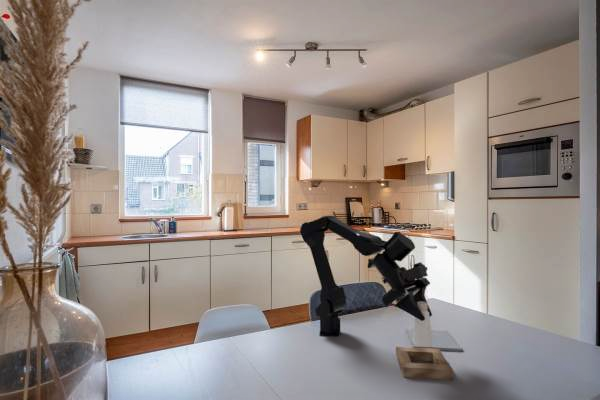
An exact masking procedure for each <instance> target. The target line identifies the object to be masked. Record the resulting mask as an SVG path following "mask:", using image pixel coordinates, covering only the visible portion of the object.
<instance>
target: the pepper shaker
mask: <svg viewBox="0 0 600 400" xmlns="http://www.w3.org/2000/svg"><path fill="white" fill-rule="evenodd" d="M417 306H418V308H419V309H420V311H421V312H422V314H423V315H424V317H425V320H423V321H421V320H419V319H418V318H416V317H414V325H413V329H414V333H413V343H414V344H416V345H418V346H422V347H429V346H432V345H433V343H432V334H431V330H432V327H431V326H432V325H431V316H429V312H428V311H427V309H428V307H427V306H429V304H428V302H427V303H426V302H423V301H419V302H417Z"/></svg>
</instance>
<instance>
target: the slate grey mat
mask: <svg viewBox="0 0 600 400" xmlns="http://www.w3.org/2000/svg"><path fill="white" fill-rule="evenodd" d="M404 332H405V334H406V335H407V338H408V340H409V342H410V345H411V347H412V348H429V349H439V350H440V351H447V352H463V348H462V347H461V345H460V344H459V343H458V342H457V341H456V339H455V338H454V336H453V335H452V334H451V333H450V332H449V331H448V330H437V329H435V330H434V329H431V334H432V343H433V345H432V346H429V347H422V346H418V345H416V344H414V343H413V333H414V328H413V329H412V328H411V329H409V328H406V329H405V331H404Z"/></svg>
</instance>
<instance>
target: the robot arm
mask: <svg viewBox="0 0 600 400" xmlns="http://www.w3.org/2000/svg"><path fill="white" fill-rule="evenodd" d="M299 229H300V230H299V232H300V235H301V238H302V240H303V242H304V243H305V244H306V245H307V246H308V247H309V249H310V252H311V256H312V259H313V262H314V266H315V269H316V273H317V276H318V280H319V283H320V286H321V289H320V294H319V300H320V303H319V305H317V307H315V308H314V311H315V316H316V317H319V336H328V337H339V336H340V333H341V317H340V316H339V314H342V313H343V312H344V308H345V307H346V305H347V300H346V299H347V296H346V294H345V289H344V288H343V286H340V287H339V286H338V284H337V283H336V281H335V278H334V274H333V272H332V268H331V265H330V261H329V257H328V255H327V253H326V252H327V251H326V248H325V245H324V242H325V236H326V235H325V232H327V231H331V232H332V233H334V234H336V235H337V236H340V238H343V239H345V241H348V243H351V244H352V246H353V247H354V250H356V251H357V252H359V253H360V255H362V256H364V257H369V256H373V255H374V257H372V258H368V260H367V261H368V263H367V269H372V268H376V270H377V271H378V273H379V274H380V275H381V276H382V277H383V280H382V283H383V284H384V285H385V284H388V286H389V287H390V289H389V290H388V291H387V292H386V293H385V294H383V295H382V296H381V303H382V304H383V306H384V307H385V308H386V309H387V308H389V307H391V306H394V307H395V308H397V309H399V310H402V311H403V312H406V313H407V314H409V315H411V316H413V317H414V318H415V317H416V318H418V319H419V320H421V321H423V320H425V317H424V315H423V314H422V312H421V311H420V309H419V308H418V306H417V302H419V301H423V302H426V303H428V301H427V300H426V296H425V292H426V290H427V287H428V286H429V285H431V282H430V281H429V280H428V278H427V276H428V272H427V271H428V267H427V266H425V264H423V263H422V262H417V263H413V267H412V268H409V269H407V268H406V267H404V266H402V267H401V266H400V265H399V264H398V262H402V261H403V260H404V259H405V258H406V257H407V256H408V255H410V253H412V252H413V250H415V249H416V245H415V243H414V242H413V240H412V239H411V238H409V237H407V235H404V234H402V232H401V231H395V232H394V233H393V234H392V236H391V237H390V238H389V239H388V240H387V241H386V240H383V239H382V238H381V237H380V236H378V235H376V234H372V233H369V232H363V231H359V230H358V229H356V228H354V227H352V226H350V225H349V224H347V223H346V222H343V221H342V220H340V219H338V218H336V217H335V216H334V215H323V216H321V217H320V218H317V219H315V220H312V221H309V222H304V223H302V224H301V227H300V228H299ZM381 252H382V253H381ZM396 261H397V262H396ZM428 277H429V276H428ZM394 302H396V303H395V304H394V305H393V303H394ZM427 307H428V309H427V311H428V312H429V316H430V317H432V316H433V314H432V311H431V309H430V306H429V305H428V306H427Z"/></svg>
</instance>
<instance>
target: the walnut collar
mask: <svg viewBox="0 0 600 400" xmlns="http://www.w3.org/2000/svg"><path fill="white" fill-rule="evenodd" d="M395 356H396V359H397V362H398V365H399V368H400V371H401V375H402V378H411V379H412V378H414V379H417V378H418V379H432V380H445V381H446V380H447V381H448V380H449V381H450V380H451V381H453V380H454V371H453V370H454V369H453V368H452V367H451V365H450V363H449V362H448V360H447V358H445V356H444V354H443V353H442V350H439V349H429V348H413V347H403V346H395ZM412 361H415V362H412ZM416 361H419V363H418V362H416ZM420 362H432V363H420Z"/></svg>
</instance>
